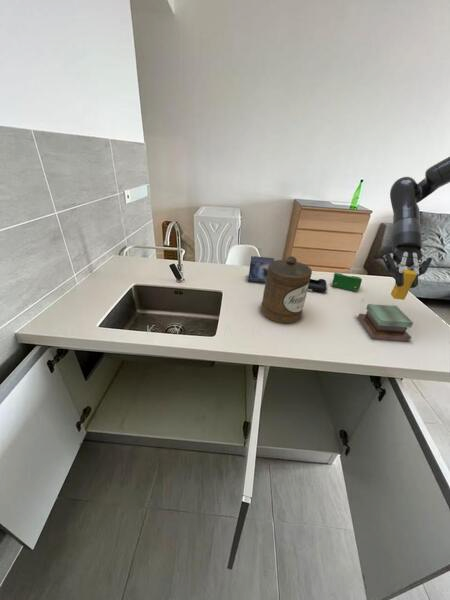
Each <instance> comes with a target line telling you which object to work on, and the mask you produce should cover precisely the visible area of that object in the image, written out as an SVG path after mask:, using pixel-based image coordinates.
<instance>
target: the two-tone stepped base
mask: <svg viewBox="0 0 450 600" xmlns="http://www.w3.org/2000/svg"><path fill="white" fill-rule="evenodd" d="M365 309H366V310H367V311H366V313H359V314H358V315H357V319H358V321H359V322H360V324H361V325H362V327H363V328H364V330H365V331H366V332H367V334H368V335H369V337H370V338H371V339H372V340H380V341H395V342H410V340H411V339H412V336H411V335H410V334H409V333H408V332H407V329H410V328H412V326H413V324H414V322H413V320H411V319H410V318H409V317H408V316H407V315H406V314H405V312H403V311H402V310H401V308H399V307H398V306H397V305H388V304H375V303H367V306H366V307H365Z"/></svg>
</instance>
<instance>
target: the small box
mask: <svg viewBox="0 0 450 600" xmlns="http://www.w3.org/2000/svg"><path fill="white" fill-rule="evenodd" d="M273 261H275V258H274V257H267V256H266V257H265V256H258V255H257V256H256V255H255V256H253V255H251V256H250V263H249V270H248V279H247V280H248V282H249V283H250V282H251V283H259V284H265V283H266V278H267V271H268V266H269V264H270V263H271V262H273Z"/></svg>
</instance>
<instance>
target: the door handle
mask: <svg viewBox="0 0 450 600" xmlns="http://www.w3.org/2000/svg"><path fill="white" fill-rule="evenodd" d="M327 290H328V289H327V281H326V280H325V279H324V278H319V279H313V278H310V281H309V286H308V290H307V292H308V291H309V292H313V291H315V292H318V293H325V292H327Z"/></svg>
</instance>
